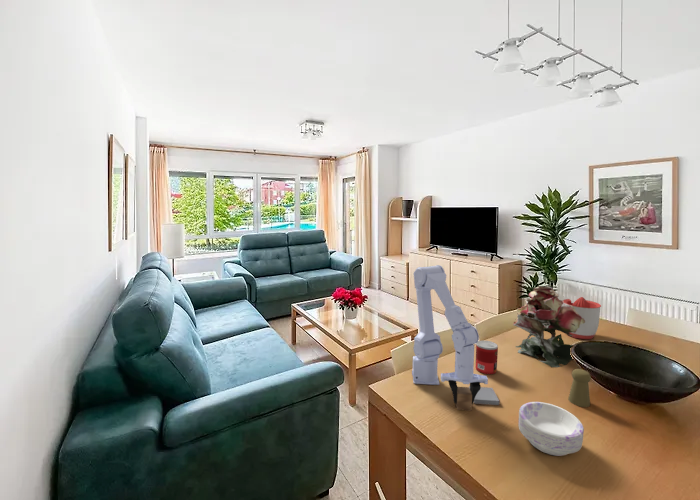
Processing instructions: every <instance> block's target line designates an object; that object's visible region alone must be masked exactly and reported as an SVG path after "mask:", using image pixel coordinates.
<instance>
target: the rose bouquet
mask: <svg viewBox="0 0 700 500" xmlns="http://www.w3.org/2000/svg"><path fill="white" fill-rule="evenodd" d="M532 289H533V290H532V291H530V292H529V293H528V297H530V298H526V299H525V304H524V305H523V306H521V307H519V308H518V307H517V308H516V310H517V311H516V314H517V315H516V316H517V318H516V319H515V321H513V326H514V327H517V328H520V329H522V330H524V331H525V332H527V333H529V334H528V336H527V338H525V339H523V340H522V342H521V344H519V345H515V348H520V349H518V350H517V353H518V354H526V355H529V356H531V357H533V358H535V359H537V360H539V359H540V357H539V356H538V355H542V357H543V358H545V361H544V360H539V362H541V363H543V364H545V365H547V366H548V367H551V368H561V367H562V365H564V366H566V365H567V364H570V363H571V361H572V360H573V359H572V357H571V355H570V348H571V347H572V346H573V344H570V343H569V344H567V343H565V341H564V340H563V336H562V334H557V333H556V331H558V332H561V333H564V334H565V335H568V336H569V335H570V336H569V337H572V336H574V335H571V334H569V333H571V332H574V333H575V332H576V331H577V329H578V328H579V326H580V324H584V323H585V320H584V318H582V317H581V316H580V315H579V314H578V313H577V312H576V310H575V308H574V307H573V306H570V305H568V304H564V302H563V300H561V299H559V295H560V294H559V293H556V291H555V290H554V289H553V287H551V286H548V285H544V286H543V285H538V286H537V287H533V288H532ZM545 332H546V333H549V334H550V335H551V337H550V338H544V337H545V334H544V333H545ZM556 334H557V335H556ZM575 337H576V336H575Z"/></svg>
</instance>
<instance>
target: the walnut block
mask: <svg viewBox="0 0 700 500" xmlns="http://www.w3.org/2000/svg"><path fill="white" fill-rule="evenodd" d="M457 387H458V388H457V403H454V404H455V407H456V410H457V411H458V410H459V411H472V410H473V409H472V408H473V407H472V406H473V404H472V393H471V391H470V388H469V386H457Z"/></svg>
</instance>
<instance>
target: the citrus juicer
mask: <svg viewBox="0 0 700 500" xmlns="http://www.w3.org/2000/svg"><path fill="white" fill-rule="evenodd" d="M562 301H563V302H564V304H568V305H570V306H573V307H574V308H575V310H576V312H577V313H578V314H579V315H580V316H581V317H582V318H584V320H585V323H584V324H580V326H579V328H578V329H577V331H576V332H575V333H574V332H571V333H569V334H571V335H574V336H570V335H568V336H569V337H572V338H574V339H582V340H592V339H593V338H594V337H595V335H596V334H597V331H598V328H599V324H600V315H601V307H602V305H601V303H599V302H595V301H592V300H586V299H585V298H584V297H583V296H580V297H579V298H577V299H576V300H575V301H574V302H572V300H571V299H570V298H567V299H563V300H562ZM575 336H576V337H575Z"/></svg>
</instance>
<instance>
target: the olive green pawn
mask: <svg viewBox="0 0 700 500" xmlns="http://www.w3.org/2000/svg"><path fill="white" fill-rule="evenodd" d="M571 377H572V382H571V387H570V391H569V394H568V401H569V403H571V404H573V405H575V406H577V407H580V408H588V407H591V399H590V385H589V383H590V382H591V379H592V376H591V374H590V372H589V371H587V370H585V369H581V368H575V369H573V370H572V372H571Z"/></svg>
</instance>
